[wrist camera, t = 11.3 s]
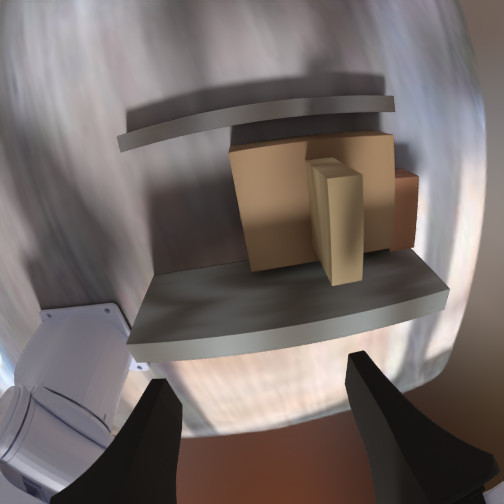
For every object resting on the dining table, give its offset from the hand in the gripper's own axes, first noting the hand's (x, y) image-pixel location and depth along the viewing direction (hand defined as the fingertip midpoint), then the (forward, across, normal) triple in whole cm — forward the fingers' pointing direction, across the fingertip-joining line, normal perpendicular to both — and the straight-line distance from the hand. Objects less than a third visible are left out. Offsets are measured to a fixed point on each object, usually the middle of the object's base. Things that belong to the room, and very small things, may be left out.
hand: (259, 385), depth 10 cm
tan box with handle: (+11, -5, -4) cm, 12 cm away
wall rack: (+10, -2, -4) cm, 11 cm away
